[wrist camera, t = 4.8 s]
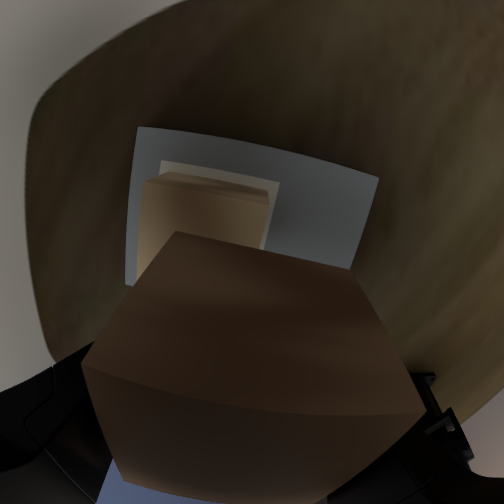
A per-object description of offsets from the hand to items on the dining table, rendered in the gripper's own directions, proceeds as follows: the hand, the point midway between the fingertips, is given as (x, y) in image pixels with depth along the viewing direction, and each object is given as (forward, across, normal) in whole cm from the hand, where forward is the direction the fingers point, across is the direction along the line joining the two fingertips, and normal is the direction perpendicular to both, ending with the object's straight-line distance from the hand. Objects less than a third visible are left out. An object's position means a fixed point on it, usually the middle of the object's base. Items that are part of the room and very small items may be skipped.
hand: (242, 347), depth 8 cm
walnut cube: (+1, 0, 0) cm, 1 cm away
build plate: (+11, 0, 0) cm, 11 cm away
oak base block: (+10, +2, +1) cm, 11 cm away
